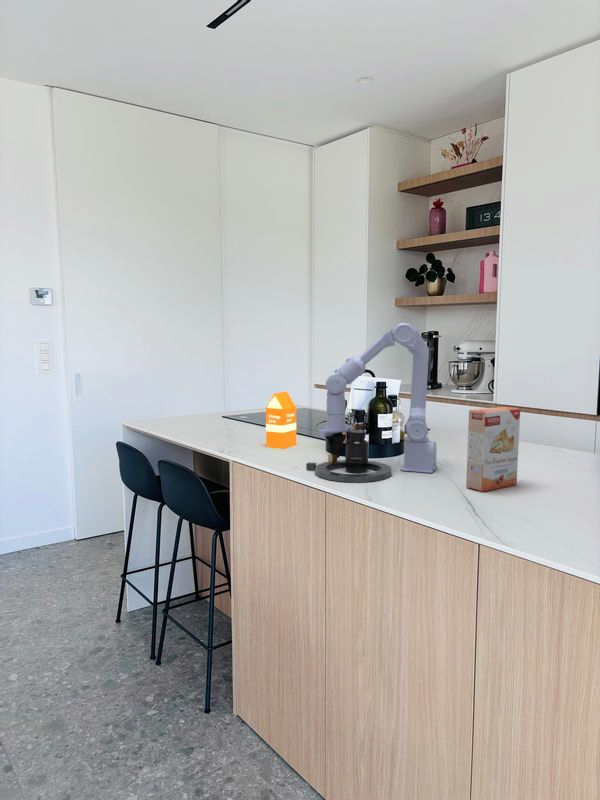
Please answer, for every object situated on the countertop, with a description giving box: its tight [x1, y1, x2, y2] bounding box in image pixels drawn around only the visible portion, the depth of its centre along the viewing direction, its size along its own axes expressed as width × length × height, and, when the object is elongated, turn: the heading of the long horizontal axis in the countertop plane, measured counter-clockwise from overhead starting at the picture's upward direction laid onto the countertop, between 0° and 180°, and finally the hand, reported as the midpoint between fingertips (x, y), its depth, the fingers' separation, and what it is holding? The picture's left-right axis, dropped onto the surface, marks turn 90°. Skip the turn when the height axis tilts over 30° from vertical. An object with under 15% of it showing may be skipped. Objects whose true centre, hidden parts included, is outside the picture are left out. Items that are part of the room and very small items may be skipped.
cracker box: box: [465, 406, 521, 492], centre depth 154 cm, size 14×6×21 cm, turn 123°
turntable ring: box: [314, 453, 392, 483], centre depth 171 cm, size 22×22×4 cm
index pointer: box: [305, 461, 317, 472], centre depth 176 cm, size 2×2×2 cm
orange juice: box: [265, 391, 297, 450], centre depth 214 cm, size 8×9×20 cm
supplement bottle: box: [344, 429, 370, 474], centre depth 173 cm, size 7×7×12 cm
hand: (335, 457), depth 179 cm, fingers closed, pressing on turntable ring
